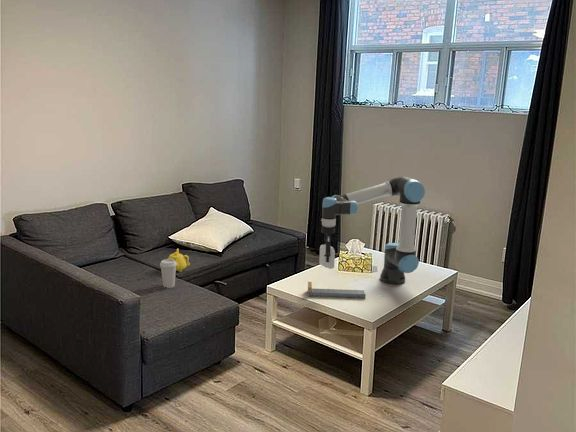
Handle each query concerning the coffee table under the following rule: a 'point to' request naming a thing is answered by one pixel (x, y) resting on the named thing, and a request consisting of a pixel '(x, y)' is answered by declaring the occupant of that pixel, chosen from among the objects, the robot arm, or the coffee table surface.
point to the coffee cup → (168, 272)
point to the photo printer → (323, 252)
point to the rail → (335, 293)
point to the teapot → (179, 260)
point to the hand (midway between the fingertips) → (326, 264)
